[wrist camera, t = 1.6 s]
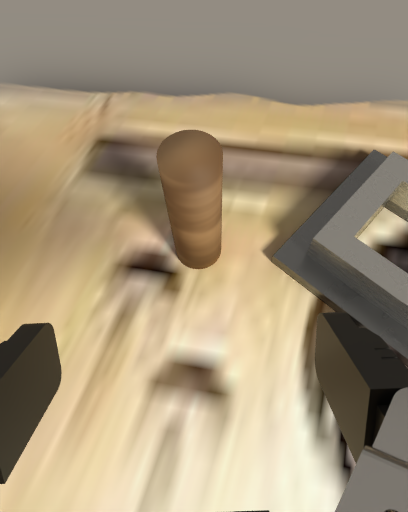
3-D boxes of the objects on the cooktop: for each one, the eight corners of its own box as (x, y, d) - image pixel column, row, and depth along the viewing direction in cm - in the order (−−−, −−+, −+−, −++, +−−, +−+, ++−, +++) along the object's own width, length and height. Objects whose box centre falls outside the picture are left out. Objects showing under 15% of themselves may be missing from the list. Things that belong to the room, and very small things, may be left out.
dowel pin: (166, 249, 31) (142, 156, 21) (197, 221, 32) (188, 120, 22) (199, 277, 29) (190, 193, 20) (230, 247, 30) (236, 152, 21)
